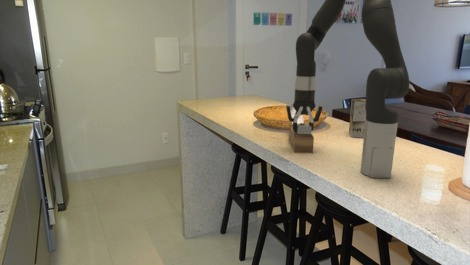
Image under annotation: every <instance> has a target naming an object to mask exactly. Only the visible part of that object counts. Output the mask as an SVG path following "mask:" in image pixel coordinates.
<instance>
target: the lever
mask: <svg viewBox="0 0 470 265" xmlns="http://www.w3.org/2000/svg"><path fill="white" fill-rule="evenodd" d="M295 113H296V110H295V109H294V107H293V108H292V111H291V117H292V118H294V116H295ZM300 123H305V122H304V115H300V116H299V118H298V120H297V124H300ZM291 125H293V122H292V121H291Z"/></svg>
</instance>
